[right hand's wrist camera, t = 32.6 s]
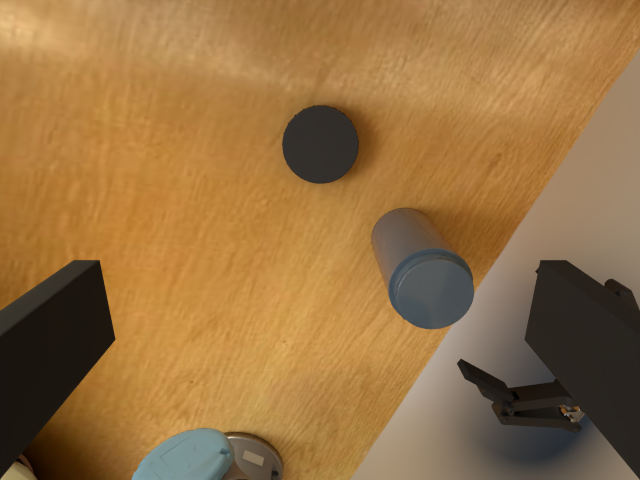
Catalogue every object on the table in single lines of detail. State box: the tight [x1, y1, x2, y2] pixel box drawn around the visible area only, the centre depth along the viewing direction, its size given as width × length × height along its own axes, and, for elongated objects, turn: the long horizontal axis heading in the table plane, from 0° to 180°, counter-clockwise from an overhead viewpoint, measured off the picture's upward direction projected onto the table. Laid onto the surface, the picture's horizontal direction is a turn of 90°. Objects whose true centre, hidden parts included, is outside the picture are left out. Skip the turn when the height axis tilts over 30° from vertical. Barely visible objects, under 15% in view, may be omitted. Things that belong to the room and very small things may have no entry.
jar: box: [371, 208, 474, 329], centre depth 47 cm, size 8×8×16 cm
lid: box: [282, 105, 359, 183], centre depth 50 cm, size 9×9×2 cm
